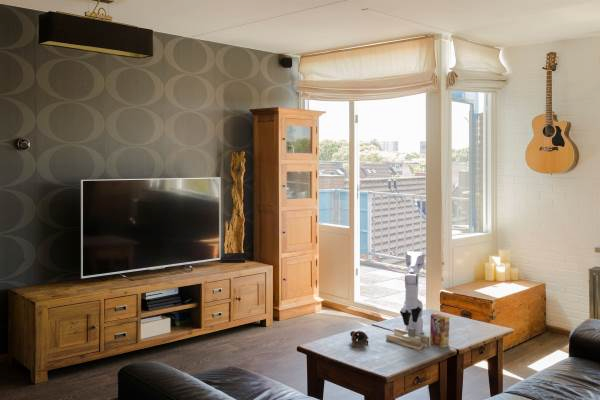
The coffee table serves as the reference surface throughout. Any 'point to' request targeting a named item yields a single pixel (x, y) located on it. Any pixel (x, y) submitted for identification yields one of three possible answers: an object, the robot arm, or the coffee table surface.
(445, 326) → the candy box
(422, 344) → the board
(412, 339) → the slab with grey handle
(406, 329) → the robot arm
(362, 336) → the pottery mug
